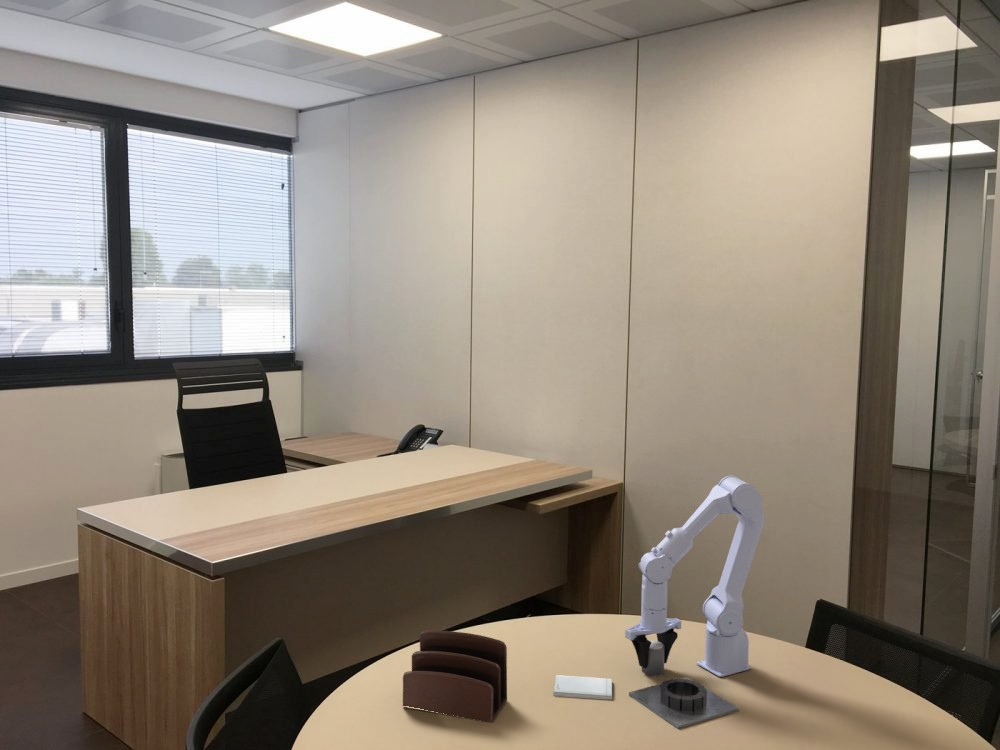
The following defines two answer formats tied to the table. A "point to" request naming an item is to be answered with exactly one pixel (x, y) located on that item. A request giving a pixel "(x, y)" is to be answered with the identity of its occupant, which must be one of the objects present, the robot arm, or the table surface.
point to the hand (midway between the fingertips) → (652, 664)
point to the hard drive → (583, 687)
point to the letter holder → (458, 675)
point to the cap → (655, 659)
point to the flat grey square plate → (683, 702)
